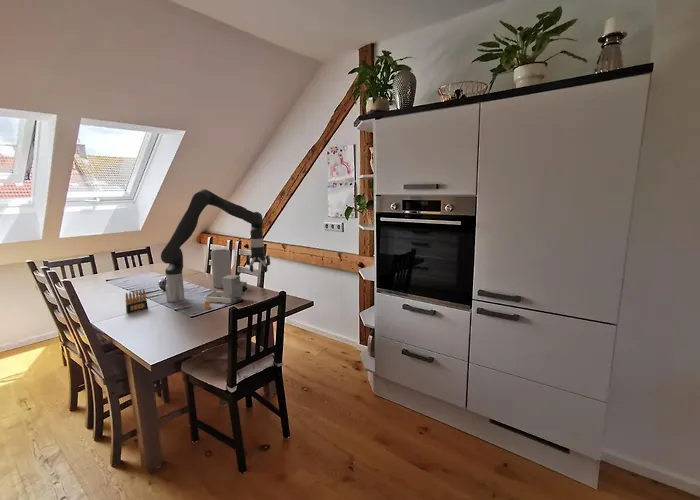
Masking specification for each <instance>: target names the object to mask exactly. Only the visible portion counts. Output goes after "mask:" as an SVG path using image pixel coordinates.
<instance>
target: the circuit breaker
mask: <svg viewBox="0 0 700 500" xmlns="http://www.w3.org/2000/svg"><path fill="white" fill-rule="evenodd" d="M222 285H223V288H222V290H223V292H224V294H222V295H223V297H222V298H231V303H237V302H238V301H240V300H241V299H242V297H243V296H245V295H246V294H248V289H249V288H248V284H247V281H241V275H236V274H235V275H234V274H231V275H227V276H225V277H223V278H222Z"/></svg>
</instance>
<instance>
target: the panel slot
mask: <svg viewBox="0 0 700 500" xmlns="http://www.w3.org/2000/svg"><path fill="white" fill-rule="evenodd" d="M222 294H224V291H221V290H219V291H217V290H213V291H212V292H210V293H208V294H207V295H206V296H205V301H207V300H208V301H209V303H217V302H224V303H223V304H232V302H231V298H223V297H222V296H223V295H222Z"/></svg>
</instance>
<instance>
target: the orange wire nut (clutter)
mask: <svg viewBox="0 0 700 500" xmlns="http://www.w3.org/2000/svg"><path fill="white" fill-rule="evenodd" d="M203 307H204V309H210V308H211V302H209V301H208V300H207V301H206V300H204V303H203ZM209 307H210V308H209Z"/></svg>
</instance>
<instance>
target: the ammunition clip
mask: <svg viewBox="0 0 700 500" xmlns="http://www.w3.org/2000/svg"><path fill="white" fill-rule="evenodd" d="M125 308H126V309H125V312H126V314H129V315H130V314H132V313H137V312H140V311H141V312H142V311H144V310H148V309H149V305H148V300H147V295H146V290H145V289H144V288H143V290H141V289H139V292H138V290H136V291H134V290H133V291H132V292H131V291H129V293H128V292H126V293H125Z"/></svg>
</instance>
